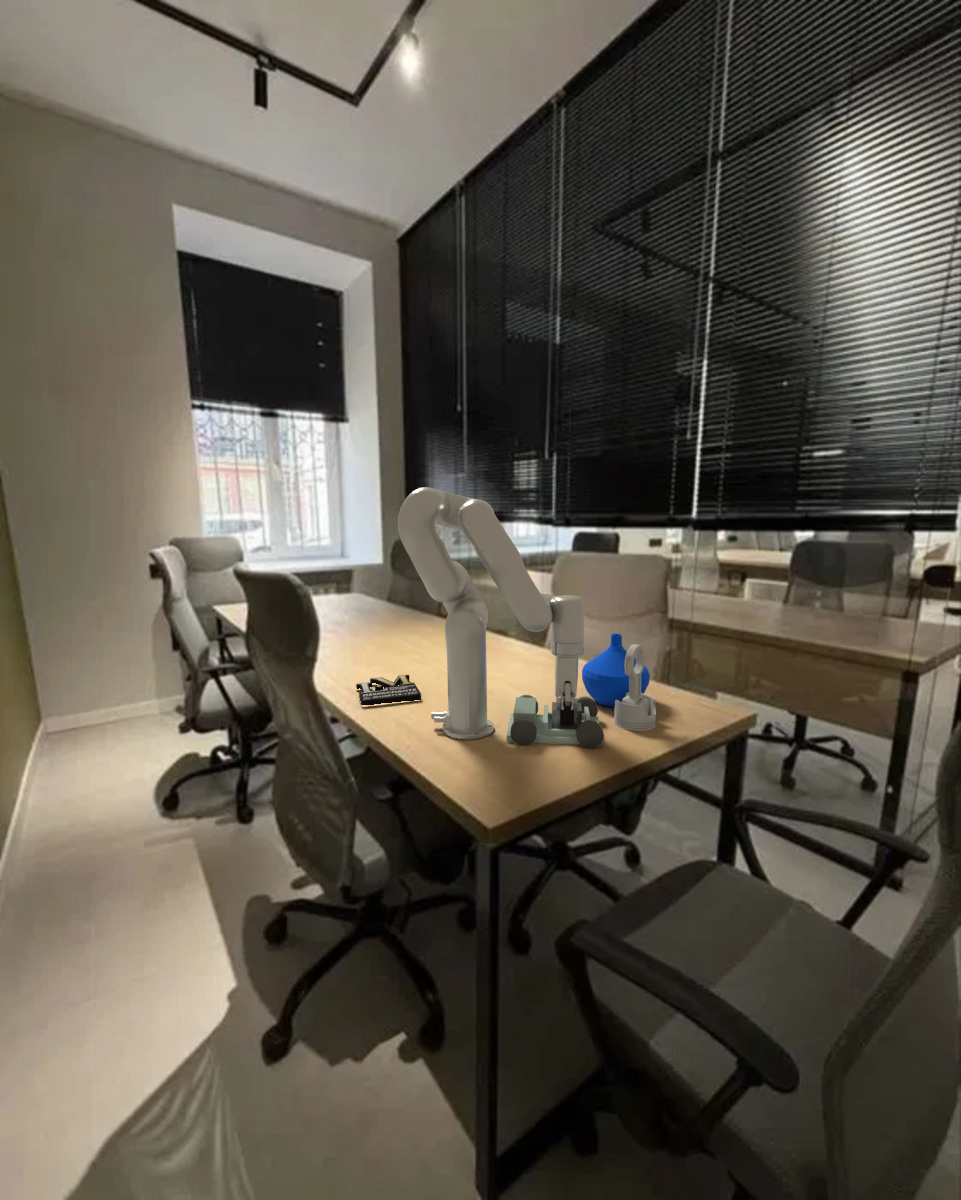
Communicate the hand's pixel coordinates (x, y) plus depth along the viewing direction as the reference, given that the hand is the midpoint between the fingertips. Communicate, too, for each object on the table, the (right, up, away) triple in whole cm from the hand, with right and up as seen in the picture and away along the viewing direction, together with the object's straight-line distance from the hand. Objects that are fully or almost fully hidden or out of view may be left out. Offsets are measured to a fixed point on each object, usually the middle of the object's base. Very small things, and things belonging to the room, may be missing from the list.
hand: (566, 718), depth 133 cm
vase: (+17, 0, +21) cm, 27 cm away
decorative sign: (-49, 0, +31) cm, 57 cm away
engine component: (+18, -3, +5) cm, 19 cm away
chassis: (-3, -3, +1) cm, 5 cm away
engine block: (0, -2, 0) cm, 2 cm away
